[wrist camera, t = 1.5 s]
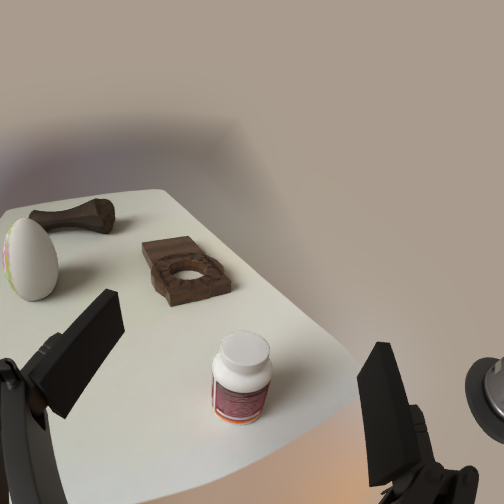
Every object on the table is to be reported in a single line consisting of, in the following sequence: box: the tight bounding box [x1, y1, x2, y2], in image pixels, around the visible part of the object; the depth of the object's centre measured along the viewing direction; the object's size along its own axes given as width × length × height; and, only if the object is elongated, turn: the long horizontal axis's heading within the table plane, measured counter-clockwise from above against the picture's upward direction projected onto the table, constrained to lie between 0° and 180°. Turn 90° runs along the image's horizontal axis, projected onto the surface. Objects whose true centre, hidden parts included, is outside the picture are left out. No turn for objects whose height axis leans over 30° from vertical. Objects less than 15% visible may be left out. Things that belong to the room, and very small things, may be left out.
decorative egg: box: [3, 218, 58, 301], centre depth 38 cm, size 12×12×15 cm
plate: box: [142, 236, 232, 306], centre depth 56 cm, size 22×14×2 cm, turn 33°
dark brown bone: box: [29, 198, 115, 234], centre depth 64 cm, size 11×10×28 cm
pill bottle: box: [212, 331, 273, 425], centre depth 27 cm, size 6×6×11 cm
